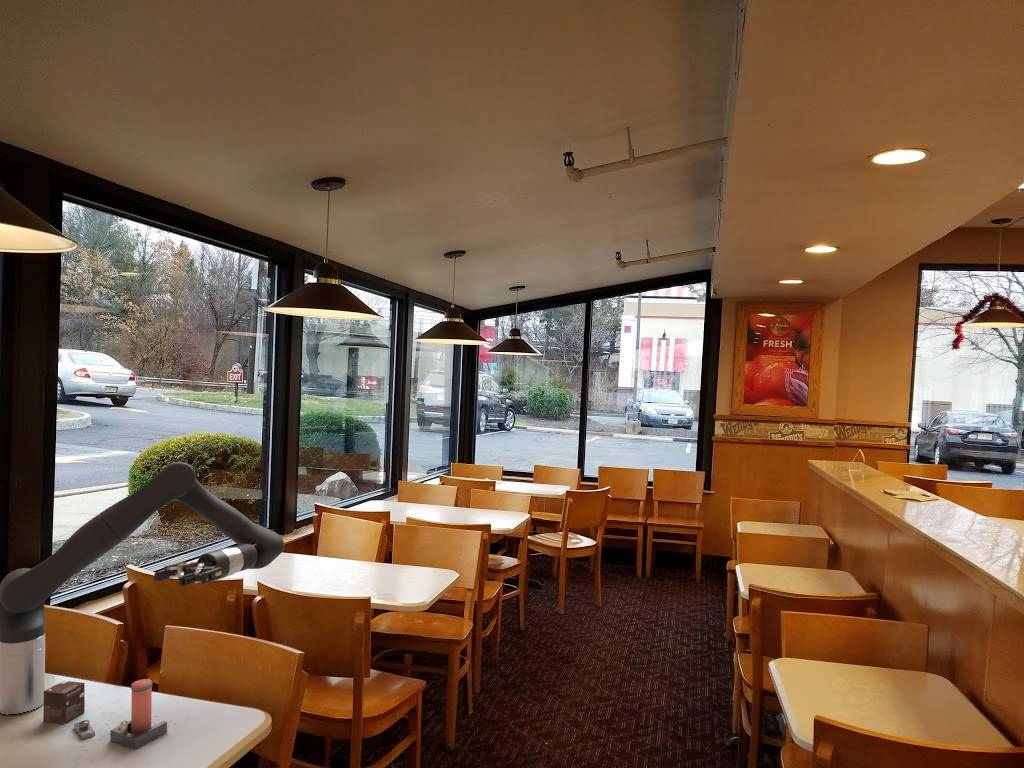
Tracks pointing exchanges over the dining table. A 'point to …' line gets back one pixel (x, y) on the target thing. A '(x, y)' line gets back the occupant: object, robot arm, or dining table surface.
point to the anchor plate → (84, 729)
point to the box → (64, 702)
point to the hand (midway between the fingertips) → (167, 579)
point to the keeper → (132, 741)
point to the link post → (141, 706)
